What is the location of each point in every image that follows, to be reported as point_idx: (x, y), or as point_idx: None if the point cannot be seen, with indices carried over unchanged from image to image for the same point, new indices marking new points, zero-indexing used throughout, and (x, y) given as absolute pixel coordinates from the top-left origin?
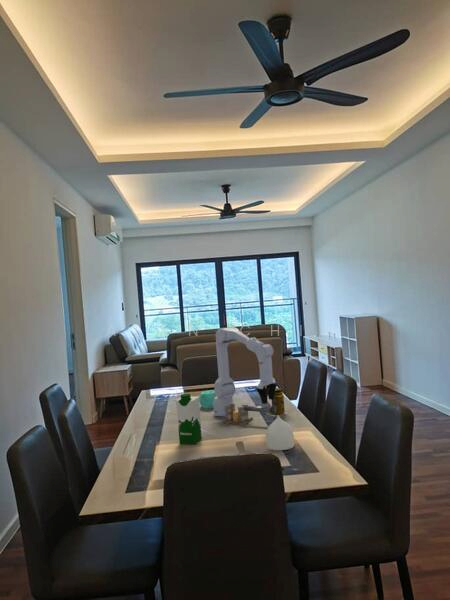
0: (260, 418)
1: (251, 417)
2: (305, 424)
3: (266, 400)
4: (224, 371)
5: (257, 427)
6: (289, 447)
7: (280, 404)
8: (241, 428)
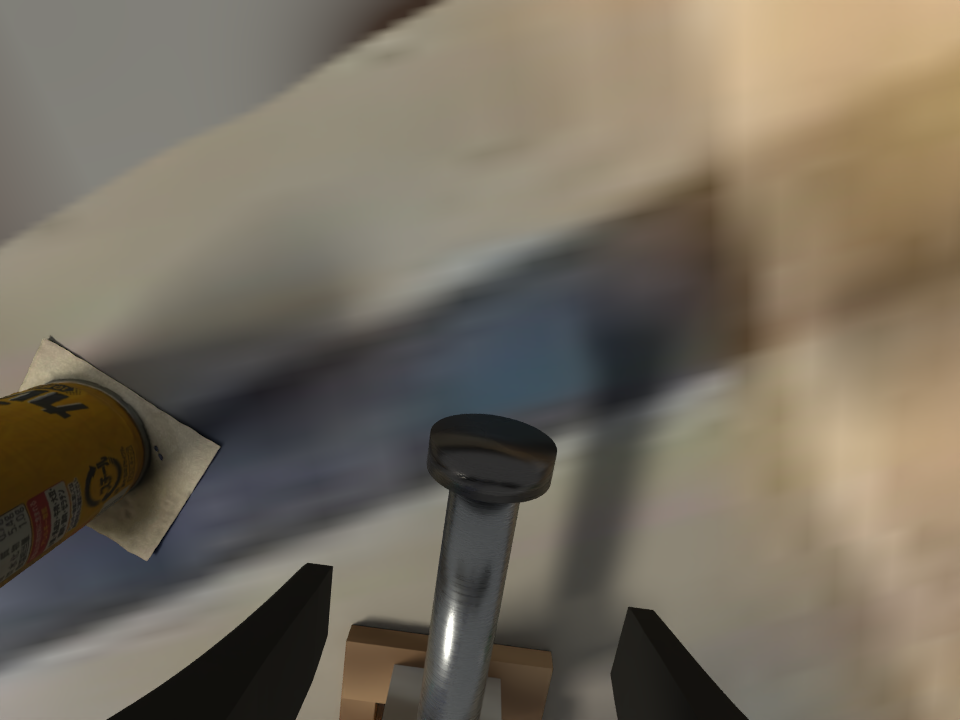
0: None
1: (358, 648)
2: (434, 29)
3: (692, 658)
4: None
5: (599, 523)
6: None
7: (25, 452)
8: None
